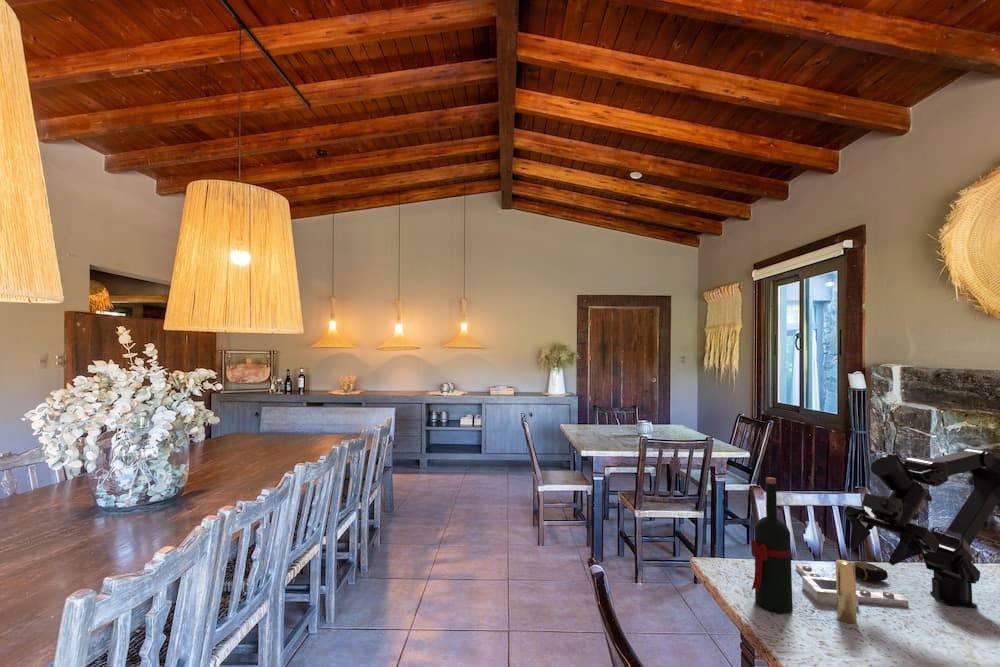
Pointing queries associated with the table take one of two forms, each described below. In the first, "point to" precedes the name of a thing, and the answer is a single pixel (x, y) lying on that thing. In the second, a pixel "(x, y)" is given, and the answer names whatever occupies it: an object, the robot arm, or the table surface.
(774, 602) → the wine bottle
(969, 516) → the robot arm
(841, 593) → the gold metal cylinder
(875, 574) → the tape measure
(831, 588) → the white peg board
